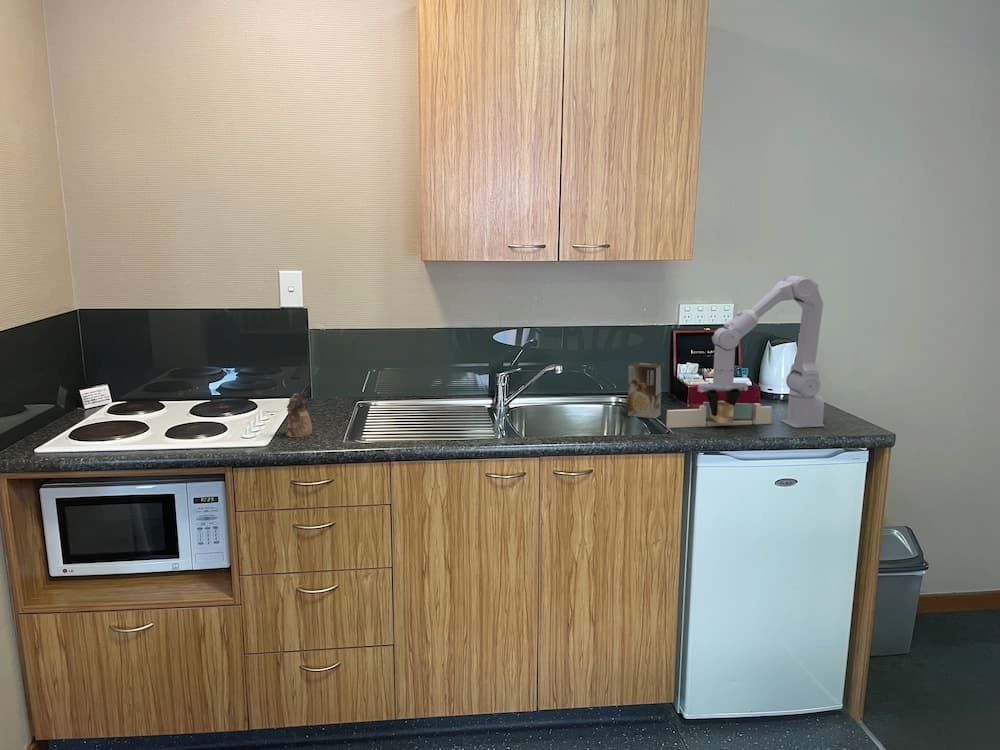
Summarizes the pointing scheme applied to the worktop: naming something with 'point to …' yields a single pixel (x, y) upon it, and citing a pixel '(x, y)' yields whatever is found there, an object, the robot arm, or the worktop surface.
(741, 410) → the door
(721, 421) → the doorstop
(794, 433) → the worktop surface
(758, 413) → the door frame
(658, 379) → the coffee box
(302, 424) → the figurine
